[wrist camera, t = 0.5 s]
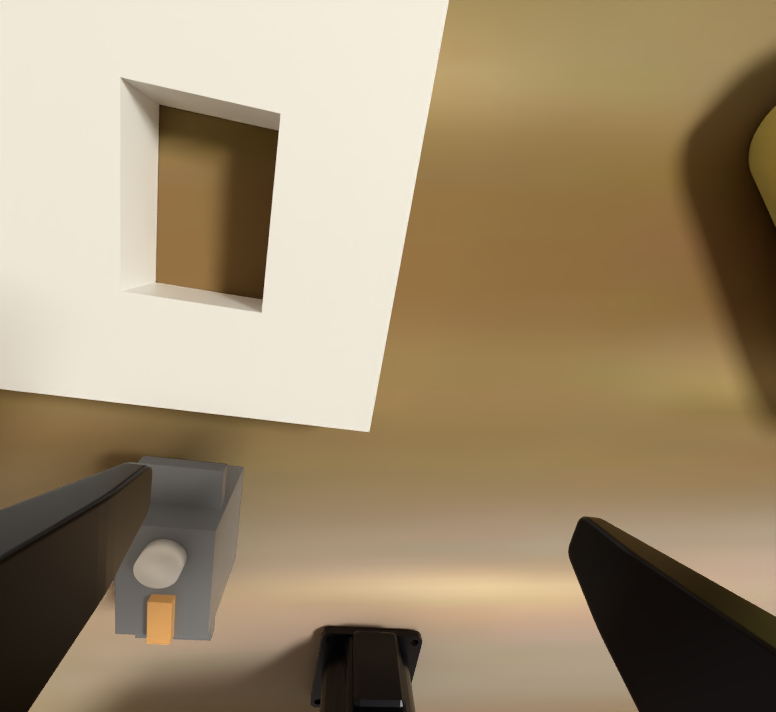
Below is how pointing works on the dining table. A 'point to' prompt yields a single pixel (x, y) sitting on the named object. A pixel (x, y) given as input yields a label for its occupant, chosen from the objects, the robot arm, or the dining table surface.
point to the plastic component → (765, 161)
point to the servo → (180, 552)
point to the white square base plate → (139, 198)
